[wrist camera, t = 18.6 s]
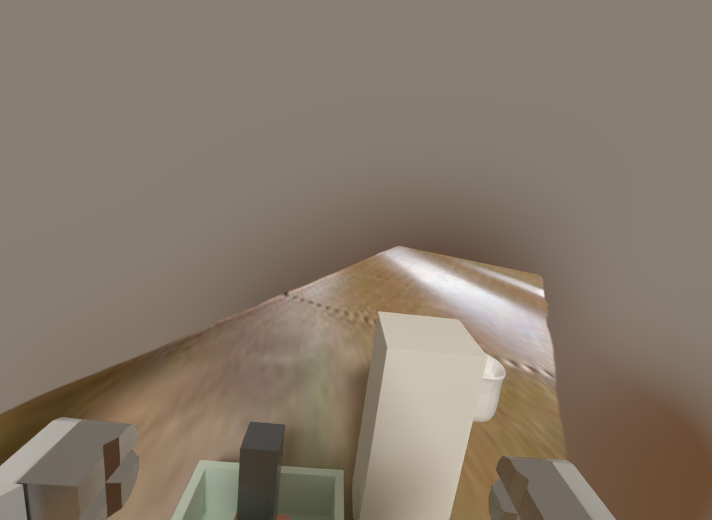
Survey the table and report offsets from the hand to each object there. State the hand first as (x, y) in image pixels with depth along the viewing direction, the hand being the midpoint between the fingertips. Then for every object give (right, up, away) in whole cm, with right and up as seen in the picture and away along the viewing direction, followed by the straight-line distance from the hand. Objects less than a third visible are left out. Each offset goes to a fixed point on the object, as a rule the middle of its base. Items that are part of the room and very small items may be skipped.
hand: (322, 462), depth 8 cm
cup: (+23, -25, +62) cm, 71 cm away
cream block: (+5, -28, +37) cm, 47 cm away
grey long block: (-8, -20, +24) cm, 32 cm away
